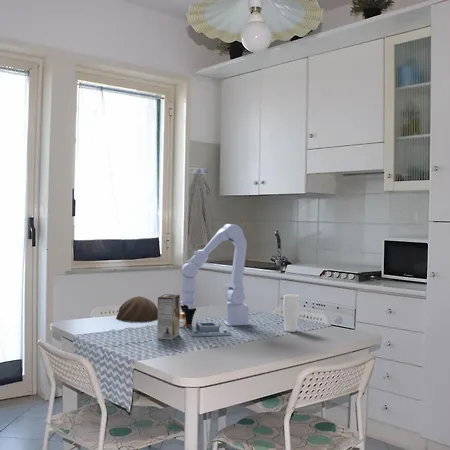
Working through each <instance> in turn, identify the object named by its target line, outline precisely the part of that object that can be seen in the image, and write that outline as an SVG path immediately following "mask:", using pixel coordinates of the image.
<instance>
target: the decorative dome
mask: <svg viewBox="0 0 450 450" xmlns="http://www.w3.org/2000/svg"><path fill="white" fill-rule="evenodd" d="M115 319H116V320H117V319H118V320H120V321H122V322H132V323H137V322H144V323H145V322H146V323H147V322H150V321H156V320H157V321H158V306H157V305H156V304H155V303H154V302H153V301H151V299H148V298H146V297H144V296H134V297H131V298H129V299H128V300H126V301H124V302H123V303H122V304H121V306H120V307H119V309H118V312H117V315H116V317H115Z"/></svg>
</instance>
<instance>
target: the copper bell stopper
mask: <svg viewBox="0 0 450 450" xmlns="http://www.w3.org/2000/svg"><path fill="white" fill-rule="evenodd" d="M179 320H182V325H183V327H184V328H185V326H189V325H192V326H193V322H194V321H193V320H194V319H193V320H192V324H186V319H185V313H184V312H180V316H179Z"/></svg>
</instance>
